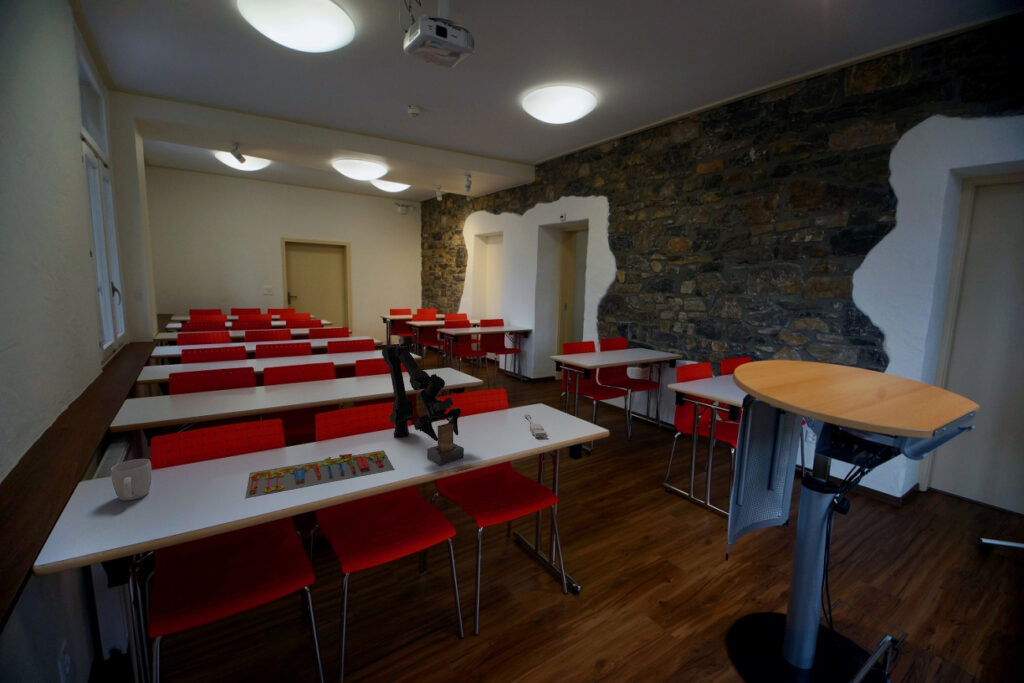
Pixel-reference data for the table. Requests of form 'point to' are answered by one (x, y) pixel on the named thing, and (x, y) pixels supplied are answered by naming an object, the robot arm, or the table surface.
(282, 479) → the gear board
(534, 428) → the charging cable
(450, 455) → the grey block holder
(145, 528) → the table surface
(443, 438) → the brown wooden block
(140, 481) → the mug
